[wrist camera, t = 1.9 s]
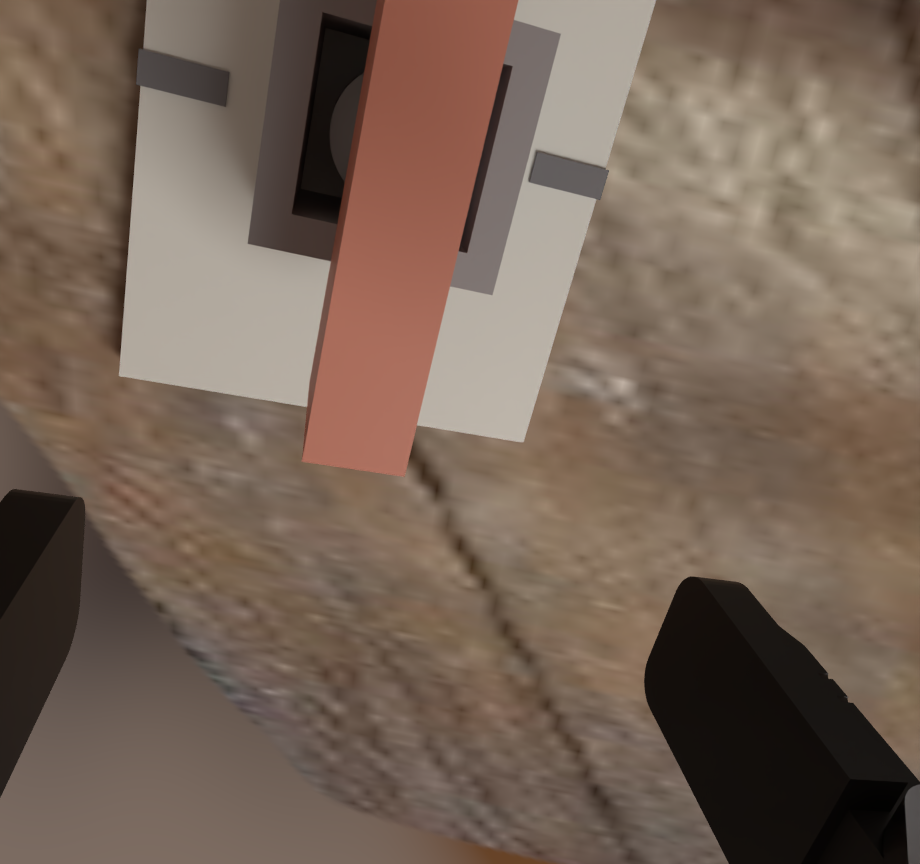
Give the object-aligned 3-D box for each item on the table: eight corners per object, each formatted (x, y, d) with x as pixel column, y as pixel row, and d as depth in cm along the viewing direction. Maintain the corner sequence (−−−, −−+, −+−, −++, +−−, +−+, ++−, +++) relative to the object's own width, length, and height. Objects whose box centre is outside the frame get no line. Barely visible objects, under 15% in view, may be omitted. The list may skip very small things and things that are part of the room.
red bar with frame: (317, -164, 21) (301, -367, 12) (546, -87, 23) (697, -211, 13) (250, 316, 26) (202, 446, 17) (440, 352, 28) (492, 489, 18)
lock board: (178, -340, 20) (117, -503, 14) (690, -148, 24) (800, -220, 18) (124, 364, 27) (70, 434, 22) (518, 430, 31) (559, 506, 25)
